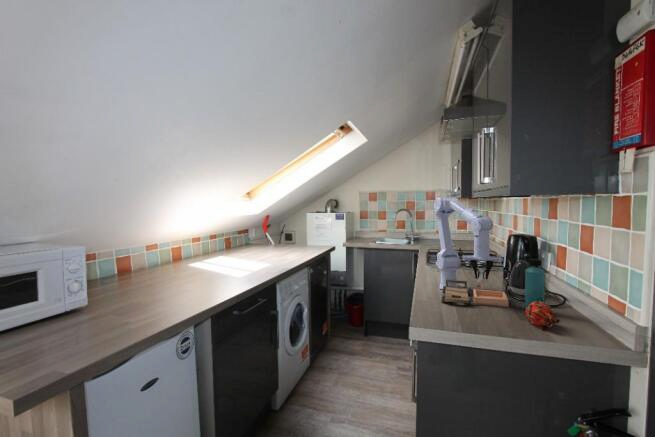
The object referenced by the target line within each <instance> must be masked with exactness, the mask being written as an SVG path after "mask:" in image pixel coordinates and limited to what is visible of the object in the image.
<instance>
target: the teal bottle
mask: <svg viewBox="0 0 655 437" xmlns="http://www.w3.org/2000/svg"><path fill="white" fill-rule="evenodd" d="M528 264H529V265H533V266H534V267H529V268H527V269H526V270H525V296H524V303H523V304H524V306H525V308H527V307H528V306H529V304H531V303H533V302H538V301H539V302H543V303H544V304H545V302H546V298H545V297H546V296H545V294H546V293H545V286H546V279H545V277H546V276H545V274H546V272H545V270H544V269H542V268H541V267H542V260H541V259H539V258H529V259H528ZM540 266H541V267H540Z"/></svg>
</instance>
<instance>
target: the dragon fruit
mask: <svg viewBox="0 0 655 437" xmlns="http://www.w3.org/2000/svg"><path fill="white" fill-rule="evenodd" d="M524 313H525V314H526V320H527V322H528V323H532V324H533V325H534V326H535V327H536V328H538V329H544V326H545V327H548V328H551V327H553V326H554V324H559V323H560V320H561V319H559V318H558V317H557V316H556V313H555V311H554V310H552V306H551V305H549V304H546V303H545V302H544V303H543V302H539V301H538V302H533V303H531V304H529V306H528V307H525V312H524Z"/></svg>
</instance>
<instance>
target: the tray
mask: <svg viewBox="0 0 655 437" xmlns="http://www.w3.org/2000/svg"><path fill="white" fill-rule="evenodd" d="M472 291H473V292H472V293H473V301H474V305H475V306H477V305H478V306H489V307H497V308H498V307H500V308H507V309H508V308H509V299H508V296H507V294H506V293H505V291H499V290H487V289H486V290H484V289H475V288H473V290H472Z"/></svg>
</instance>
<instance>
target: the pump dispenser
mask: <svg viewBox="0 0 655 437" xmlns="http://www.w3.org/2000/svg"><path fill="white" fill-rule="evenodd" d="M528 263H529V261H528V262H527V261H526V260H522V259H521V260H517V261H516V262H515V264H514V265H513V267H512V270H511V272H510V276H509V280H508V285H509V288H510V290H511V292H513V293H514V294H515V295H519V296H524V297H525V270H526V269H527V268H529V267H535V266H533V265H529V264H528Z"/></svg>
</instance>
